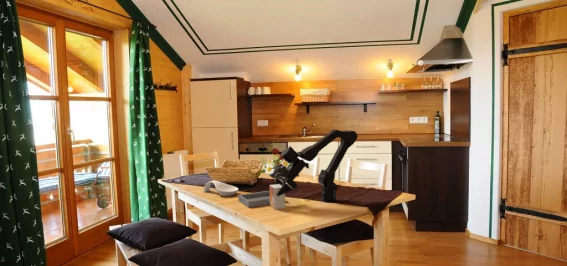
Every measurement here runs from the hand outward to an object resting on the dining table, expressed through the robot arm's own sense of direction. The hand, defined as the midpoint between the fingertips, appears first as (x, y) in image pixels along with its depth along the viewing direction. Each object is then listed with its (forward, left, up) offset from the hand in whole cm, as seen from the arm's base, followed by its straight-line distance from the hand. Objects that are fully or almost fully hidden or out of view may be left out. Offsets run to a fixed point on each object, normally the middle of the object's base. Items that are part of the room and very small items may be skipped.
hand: (274, 193), depth 185 cm
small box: (-1, 0, -7) cm, 7 cm away
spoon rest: (+16, -42, -7) cm, 46 cm away
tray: (+2, -14, -7) cm, 16 cm away
